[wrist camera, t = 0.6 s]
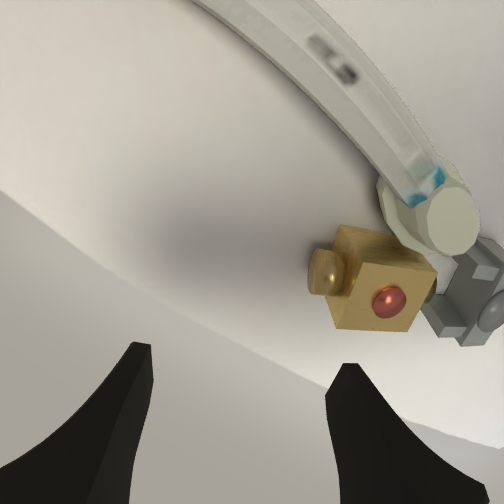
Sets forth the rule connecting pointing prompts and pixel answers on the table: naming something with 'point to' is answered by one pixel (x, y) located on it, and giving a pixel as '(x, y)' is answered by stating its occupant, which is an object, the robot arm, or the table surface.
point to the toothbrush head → (363, 118)
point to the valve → (371, 280)
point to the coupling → (471, 296)
